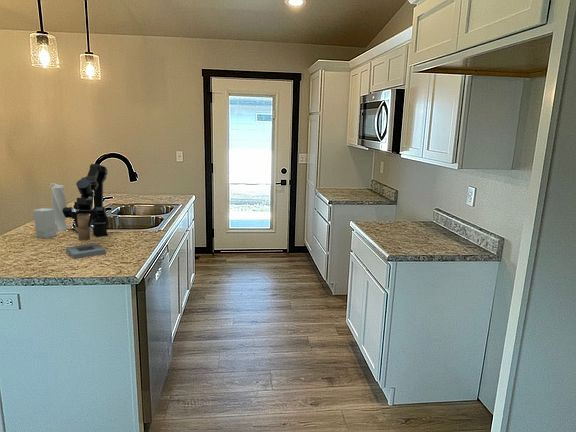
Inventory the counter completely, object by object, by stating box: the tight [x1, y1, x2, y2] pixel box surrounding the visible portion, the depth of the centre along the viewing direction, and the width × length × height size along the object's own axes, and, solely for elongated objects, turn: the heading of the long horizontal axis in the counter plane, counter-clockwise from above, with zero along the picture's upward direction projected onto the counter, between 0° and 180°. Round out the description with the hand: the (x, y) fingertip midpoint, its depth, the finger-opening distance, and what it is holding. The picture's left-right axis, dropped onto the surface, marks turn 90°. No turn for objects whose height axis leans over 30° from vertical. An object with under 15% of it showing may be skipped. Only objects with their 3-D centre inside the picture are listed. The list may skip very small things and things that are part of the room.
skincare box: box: [32, 207, 58, 239], centre depth 223 cm, size 8×7×16 cm
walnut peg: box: [77, 214, 91, 242], centre depth 196 cm, size 5×5×12 cm
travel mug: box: [72, 199, 91, 232], centre depth 239 cm, size 8×8×18 cm
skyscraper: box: [49, 183, 69, 232], centre depth 238 cm, size 8×8×28 cm
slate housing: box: [65, 242, 106, 260], centre depth 198 cm, size 14×14×2 cm
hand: (82, 226), depth 195 cm, fingers closed on walnut peg, 5 cm apart
